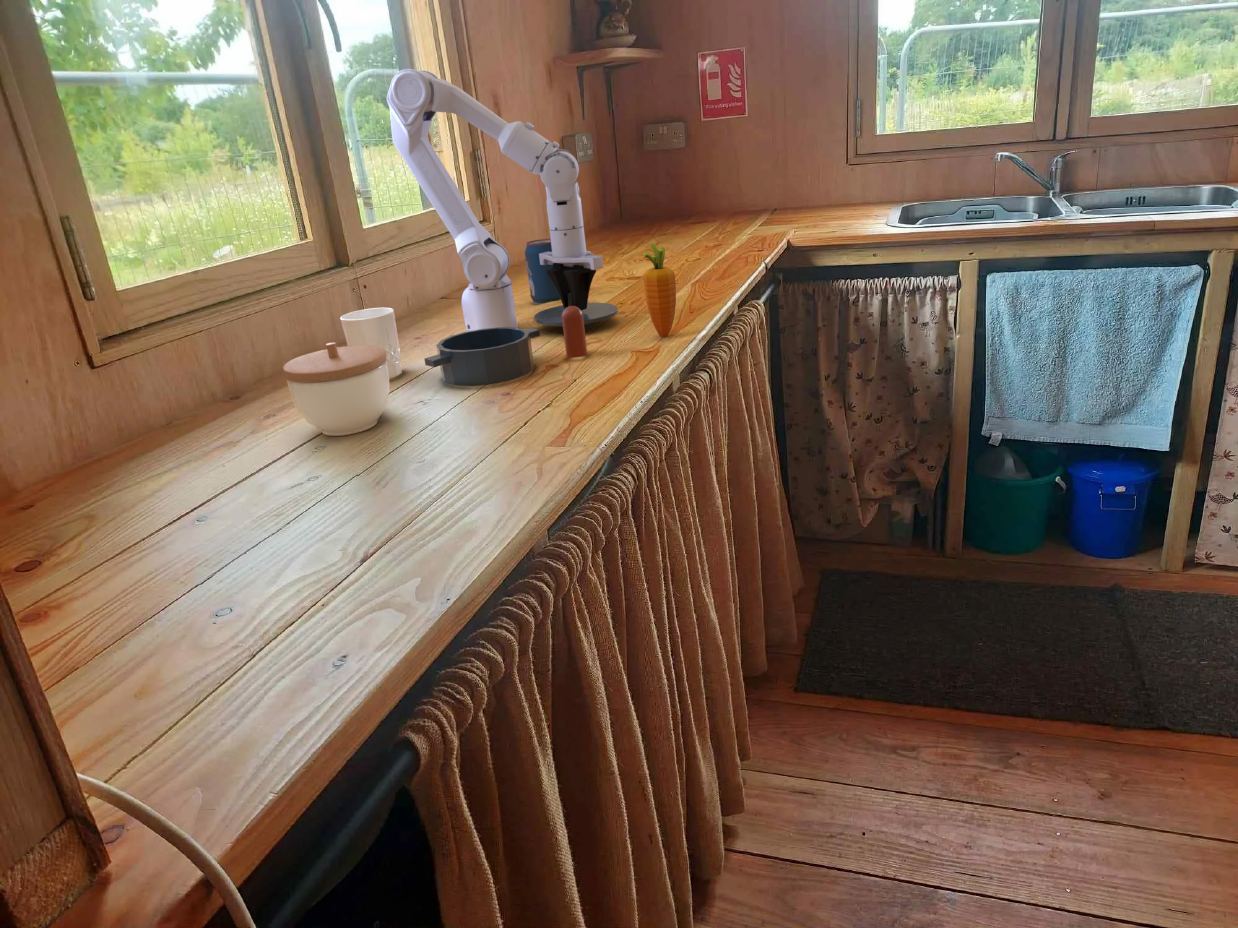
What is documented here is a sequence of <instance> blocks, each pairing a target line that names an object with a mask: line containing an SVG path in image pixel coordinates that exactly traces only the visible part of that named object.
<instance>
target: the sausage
mask: <svg viewBox="0 0 1238 928" xmlns="http://www.w3.org/2000/svg"><path fill="white" fill-rule="evenodd" d="M562 323H563V327H562V332H563V338H564V346H565V355H566V357H568V358H580V357H584V356H586V355H587V354H588V347H587V339H586V330H585V325H584V320H583V313H582V311H581V310H580V309H579V308H578V307H576V306H569V307H567V308H565V309H564V311H563V313H562Z"/></svg>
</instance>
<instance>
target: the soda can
mask: <svg viewBox="0 0 1238 928" xmlns="http://www.w3.org/2000/svg"><path fill="white" fill-rule="evenodd" d="M544 252H552V247H551V238H541V239H534V240H530V241H527V242H526V247H525V249H524V257H525V265H526V271H527V280H528V287H529V293H530V295H529V296H530V298H531V300H532V302H534V304H535V305H539V306H540V305H543V304H548V303H551V302H556V301H559V300H560V301H561V298H560V296H559V293H558V291H557V289H556V287H555V285H554V283H553V281H552V280H551V278H550V277H549V276H548V275H547V270H549V269H552V267H553V265H549V264H546V265H540V258H539V254H540V253H544Z"/></svg>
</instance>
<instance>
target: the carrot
mask: <svg viewBox="0 0 1238 928" xmlns="http://www.w3.org/2000/svg"><path fill="white" fill-rule="evenodd" d="M650 247H651V249H652V252H653V254H654V255H651V254H650V253H648V252H644V253H643V254H642V255H643V257H644V258H647V259H648V260H649V261H650V262H651V263H652V265H653V267H651V268H649V269H647V270H645V271H644V273H643V286H644V293H645V294H644V295H645V300H646V301H645V302H646V305H647V309H648V313H649V316H650V320H651V323H652V325H653V327H654V329H655V331H656V333H657V335H658V336H659V337H660V338H663V339H665V338H668V337H669V335H670V332H671V330H672V328H673V324H674V321H675V315H676V304H677V285H676V273H675V271H674V270H673V269H672V268H670V267H668V266H664V262H665V257H666V248H665V247H663V246H661V247H660V248H659V249H658V247H657V244H656V243H655V242H653V243H651V244H650Z"/></svg>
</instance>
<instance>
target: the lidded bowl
mask: <svg viewBox="0 0 1238 928" xmlns="http://www.w3.org/2000/svg"><path fill="white" fill-rule="evenodd" d="M325 348H326V349H321V350H317V351H313V352H310V353H306V354H303V355H299V356H298V357H295V358H293V359H291V360H289V361H287V362H286V363H285V364H284V365H283V367H282V372H283V376H284V379H285V380H286V383H287V388H288V392H289V394H290V397H291V400H292V402H293V404H294V406H295V408H296V411H297V412H298V413H299V415H300V416H301V417H302V418H303V420H305V422H307V423H308V424H310V425H311V426H312V427H314V428H315V429H317V430H319V431H320V433H321V434H323V435H324V436H329V437H340V436H341V437H342V436H350V435H353V434H358V433H361V432H365V431H368V430H369V429H371V428H373V427H374V426H376V425H377V424H378V422H379V418H380V417H381V415H382V414H383V412H384V411H385V409H386V407H387V405H388V402H389V397H390V378H389V374H388V368H387V363H386V360H387V358H386V352H385V350H384V349H382V348H380V347H377V346H369V345H356V346H347V345H346V346H344V345H343V346H338V345H337V342H335V341H334V342H327V343H326V344H325Z"/></svg>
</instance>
